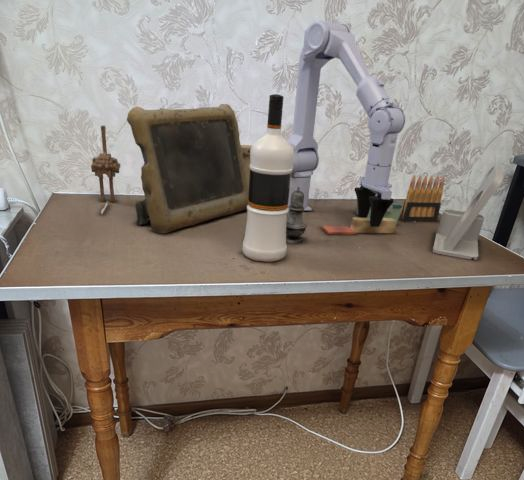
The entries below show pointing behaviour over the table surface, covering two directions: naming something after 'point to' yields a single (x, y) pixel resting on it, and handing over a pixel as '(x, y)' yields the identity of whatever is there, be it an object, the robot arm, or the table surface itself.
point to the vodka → (269, 190)
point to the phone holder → (466, 222)
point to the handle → (246, 161)
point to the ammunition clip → (423, 200)
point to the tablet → (188, 165)
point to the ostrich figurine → (105, 168)
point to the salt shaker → (295, 218)
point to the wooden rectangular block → (362, 227)
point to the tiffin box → (388, 211)
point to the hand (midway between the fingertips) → (368, 221)
